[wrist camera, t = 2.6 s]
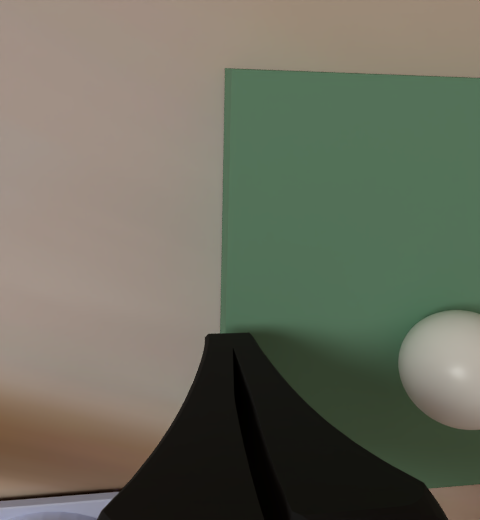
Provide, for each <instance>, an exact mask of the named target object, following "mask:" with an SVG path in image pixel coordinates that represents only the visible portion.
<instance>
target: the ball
mask: <svg viewBox="0 0 480 520" xmlns="http://www.w3.org/2000/svg"><path fill="white" fill-rule="evenodd" d="M398 368H399V374H400V379H401V381H402V384H403V387H404V389H405V391H406V392H407V394H408V396H409V398H410V399H411V400H412V401H413V403H414V404H415V405H416V406H417V407H418V408H419V409H420V410H421V411H422V412H423V413H425V414H426V415H427V416H429V417H430V418H432V419H434V420H435V421H437V422H439V423H441V424H444V425H446V426H449V427H453V428H457V429H463V430H480V314H478V313H475V312H471V311H464V310H448V311H442V312H438V313H435V314H432V315H430V316H427V317H426V318H424V319H422V320H421V321H419V322H418V323H417V324H415V325H414V326H413V327H412V328H411V330H410V331H409V332H408V333H407V335H406V337H405V338H404V340H403V342H402V345H401V348H400V351H399V357H398Z"/></svg>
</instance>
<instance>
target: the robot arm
mask: <svg viewBox="0 0 480 520" xmlns="http://www.w3.org/2000/svg"><path fill="white" fill-rule="evenodd" d="M0 520H448V518H447V517H446V515H445V513H444V511H443V510H442V508H441V507H440V505H439V504H438V502H437V500H436V499H435V498H434V496H433V495H432V494H431V492H430V491H429V489H428V488H427V486H426V485H425V483H424V482H422V481H420V480H418V479H416V478H414V477H413V476H411V475H409V474H407V473H405V472H403V471H401V470H400V469H398V468H396V467H394V466H392V465H390V464H389V463H387V462H385V461H383V460H382V459H380V458H379V457H377V456H375V455H374V454H372V453H371V452H369V451H368V450H366V449H364V448H363V447H361V446H360V445H358V444H357V443H355V442H354V441H353V440H351V439H350V438H349V437H347V436H346V435H345V434H343V433H342V432H340V431H339V430H338V429H336V428H335V427H334V426H332V425H331V424H330V423H329V422H328V421H326V420H325V419H324V418H323V417H322V416H321V415H319V414H318V413H317V412H316V411H315V410H314V409H313V408H312V407H311V406H310V405H309V404H308V403H306V402H305V401H304V400H303V399H302V398H301V397H300V395H299V394H298V393H297V392H296V391H295V390H294V389H293V388H292V387H291V386H290V385H289V384H288V382H287V381H286V380H285V379H284V378H283V377H282V375H281V374H280V373H279V372H278V370H277V369H276V368H275V367H274V366H273V364H272V363H271V362H270V360H269V359H268V358H267V356H266V355H265V354H264V352H263V351H262V349H261V348H260V346H259V345H258V343H257V342H256V340H255V339H254V337H253V336H252V335H251V334H250V333H249V332H248V333H221V334H208V335H207V336H206V337H205V346H204V351H203V355H202V359H201V362H200V365H199V368H198V371H197V374H196V376H195V379H194V381H193V384H192V386H191V388H190V390H189V392H188V395H187V397H186V399H185V401H184V403H183V405H182V407H181V409H180V411H179V412H178V414H177V416H176V418H175V419H174V421H173V423H172V424H171V426H170V428H169V429H168V431H167V432H166V434H165V435H164V437H163V438H162V440H161V441H160V443H159V444H158V446H157V447H156V448H155V450H154V451H153V452H152V454H151V455H150V456H149V458H148V459H147V460H146V461H145V463H144V464H143V465H142V466H141V468H140V469H139V470H138V471H137V473H136V474H135V475H134V476H133V477H132V479H131V480H130V481H129V482H128V483H127V484H126V485H125V486H124V487H123V489H122V490H121V491H120V492H108V493H95V494H83V495H70V496H58V497H45V498H32V499H20V500H7V501H0Z"/></svg>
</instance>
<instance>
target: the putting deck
mask: <svg viewBox="0 0 480 520" xmlns="http://www.w3.org/2000/svg"><path fill="white" fill-rule="evenodd" d="M448 310H464V311H471V312H475V313H478V314H480V78H467V77H440V76H414V75H387V74H361V73H335V72H308V71H282V70H255V69H229V68H225V102H224V157H223V211H222V265H221V319H220V334H221V333H248V332H249V333H250V334H251V335H252V336H253V337H254V339H255V340H256V342H257V343H258V345H259V346H260V348H261V349H262V351H263V352H264V354H265V355H266V356H267V358H268V359H269V360H270V362H271V363H272V364H273V366H274V367H275V368H276V369H277V370H278V372H279V373H280V374H281V375H282V377H283V378H284V379H285V380H286V381H287V382H288V384H289V385H290V386H291V387H292V388H293V389H294V390H295V391H296V392H297V393H298V394H299V395H300V397H301V398H302V399H303V400H304V401H305V402H306V403H308V404H309V405H310V406H311V407H312V408H313V409H314V410H315V411H316V412H317V413H318V414H319V415H321V416H322V417H323V418H324V419H325V420H326V421H328V422H329V423H330V424H331V425H332V426H334V427H335V428H336V429H338V430H339V431H340V432H342V433H343V434H345V435H346V436H347V437H349V438H350V439H351V440H353V441H354V442H355V443H357V444H358V445H360V446H361V447H363V448H364V449H366V450H368V451H369V452H371V453H372V454H374V455H375V456H377V457H379V458H380V459H382V460H383V461H385V462H387V463H389V464H390V465H392V466H394V467H396V468H398V469H400V470H401V471H403V472H405V473H407V474H409V475H411V476H413V477H414V478H416V479H418V480H420V481H422V482H424V483H425V485H426V486H427V488H440V487H451V486H463V485H474V484H480V430H463V429H457V428H453V427H449V426H446V425H444V424H441V423H439V422H437V421H435V420H434V419H432V418H430V417H429V416H427V415H426V414H425V413H423V412H422V411H421V410H420V409H419V408H418V407H417V406H416V405H415V404H414V403H413V401H412V400H411V399H410V398H409V396H408V394H407V392H406V391H405V389H404V387H403V384H402V381H401V379H400V374H399V368H398V357H399V351H400V348H401V345H402V342H403V340H404V338H405V337H406V335H407V333H408V332H409V331H410V330H411V328H412V327H413V326H414V325H415V324H417V323H418V322H419V321H421V320H422V319H424V318H426V317H427V316H430V315H432V314H435V313H438V312H442V311H448Z"/></svg>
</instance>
